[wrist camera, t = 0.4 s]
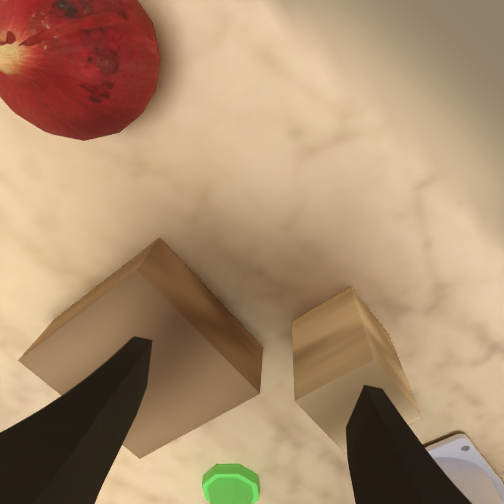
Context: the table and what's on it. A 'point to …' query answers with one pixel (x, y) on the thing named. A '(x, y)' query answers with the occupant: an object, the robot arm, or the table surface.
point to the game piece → (231, 485)
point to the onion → (77, 64)
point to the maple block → (345, 364)
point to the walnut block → (155, 346)
